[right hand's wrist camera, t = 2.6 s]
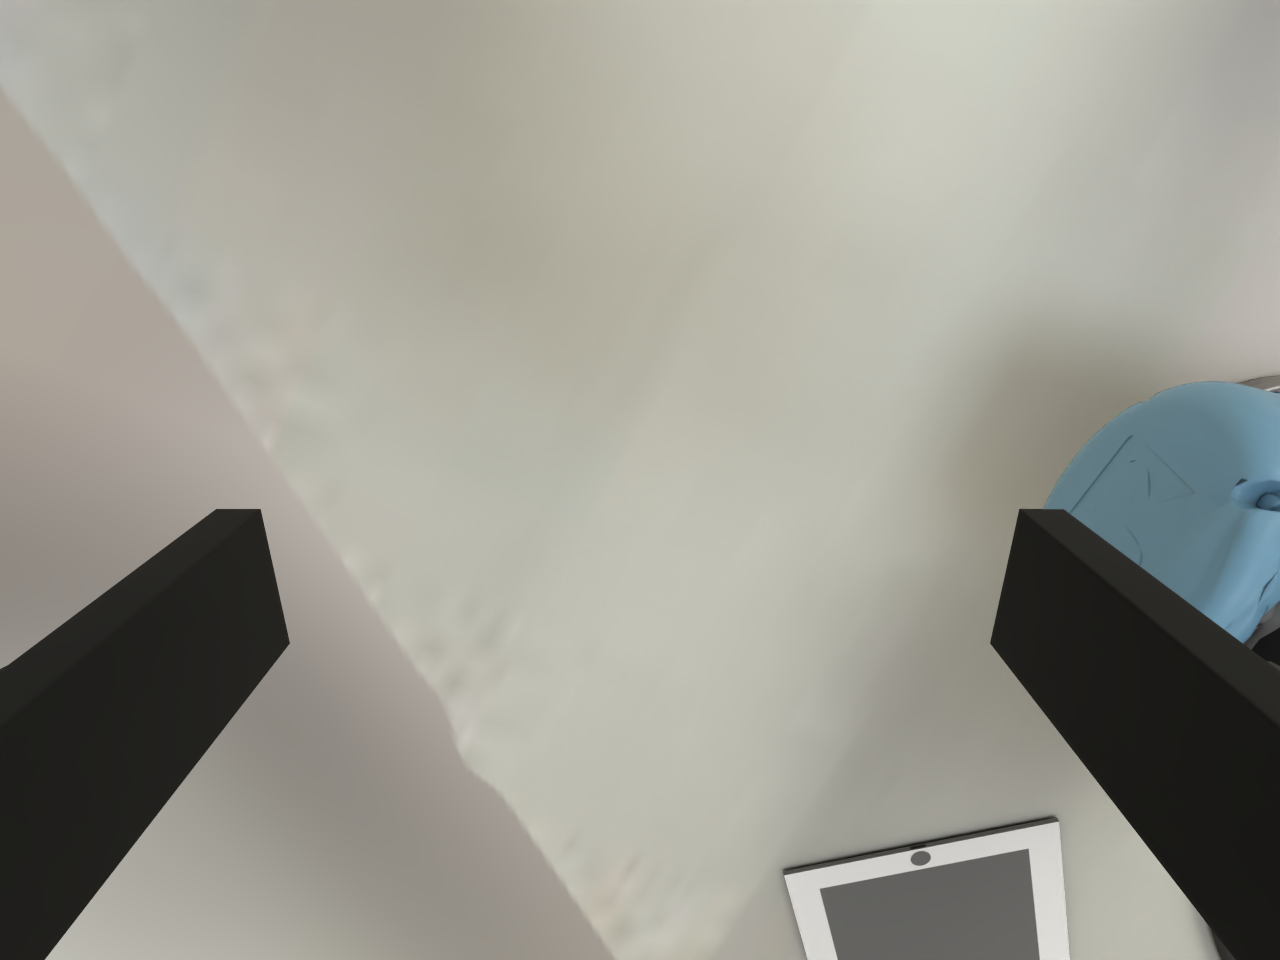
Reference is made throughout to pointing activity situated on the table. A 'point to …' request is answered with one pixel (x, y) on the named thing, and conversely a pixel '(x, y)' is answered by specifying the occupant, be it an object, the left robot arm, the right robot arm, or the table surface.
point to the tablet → (939, 900)
